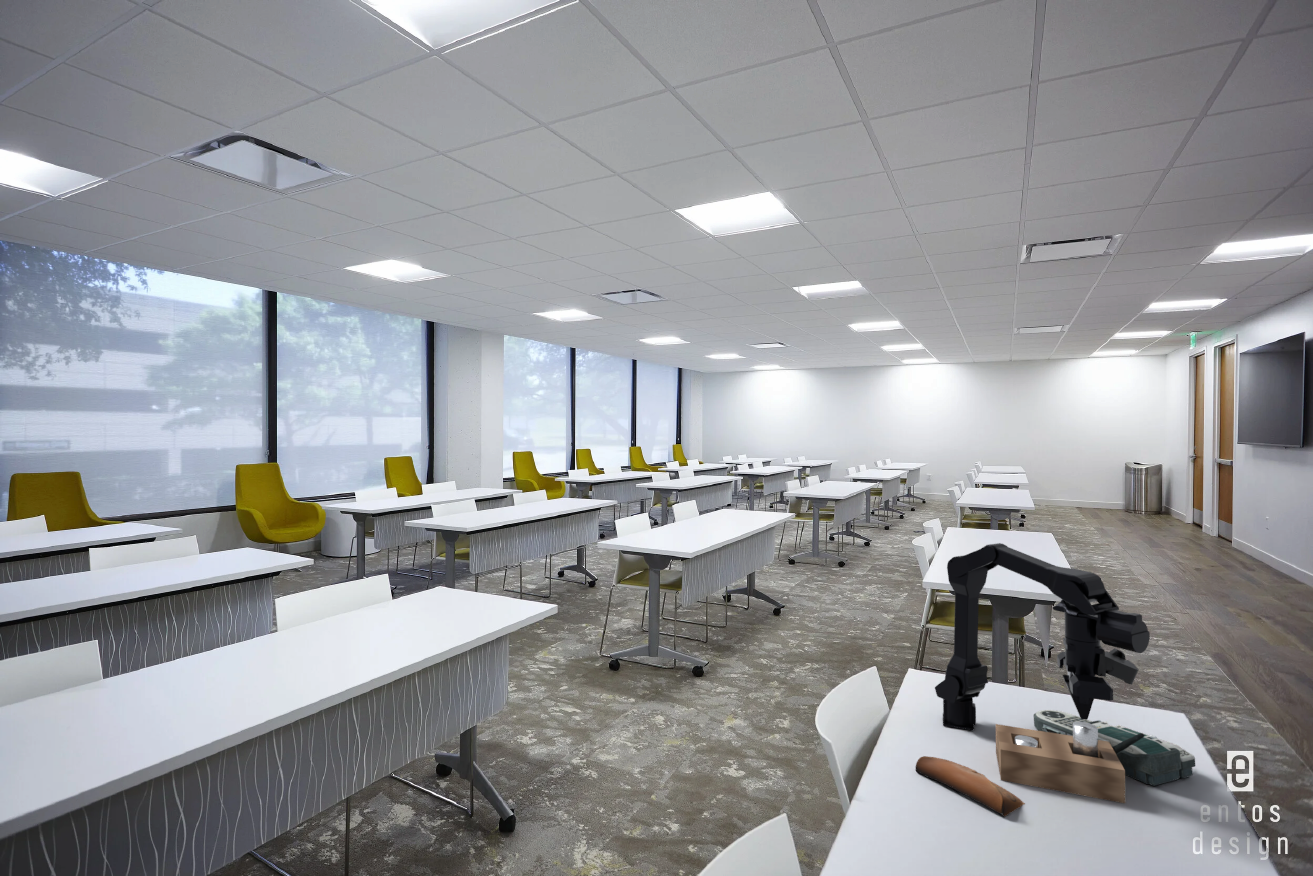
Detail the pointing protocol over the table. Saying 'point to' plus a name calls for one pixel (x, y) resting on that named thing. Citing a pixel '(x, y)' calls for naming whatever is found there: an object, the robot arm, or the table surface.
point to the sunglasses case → (969, 783)
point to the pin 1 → (1026, 741)
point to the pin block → (1059, 764)
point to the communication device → (1128, 748)
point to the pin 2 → (1085, 739)
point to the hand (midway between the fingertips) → (1083, 718)
